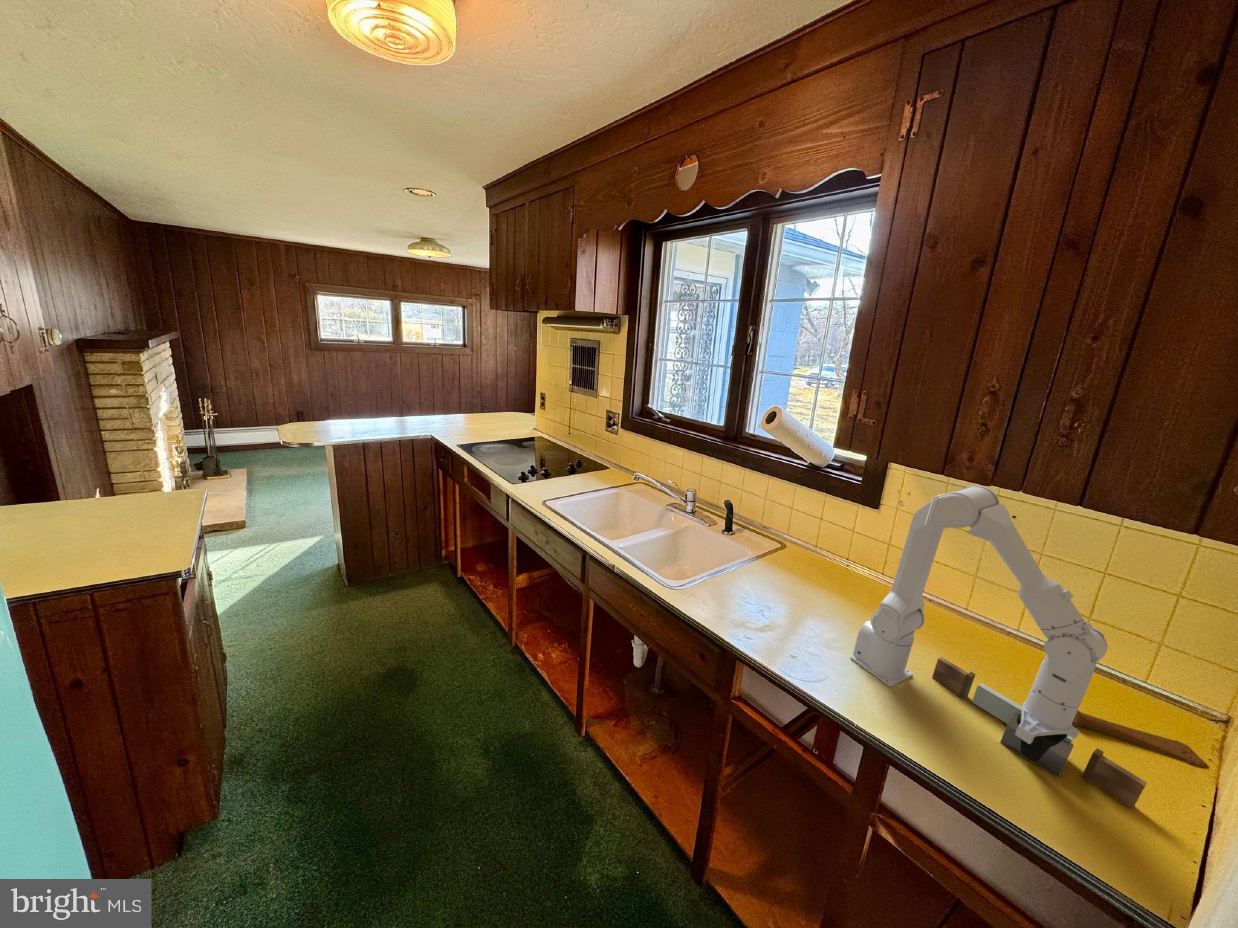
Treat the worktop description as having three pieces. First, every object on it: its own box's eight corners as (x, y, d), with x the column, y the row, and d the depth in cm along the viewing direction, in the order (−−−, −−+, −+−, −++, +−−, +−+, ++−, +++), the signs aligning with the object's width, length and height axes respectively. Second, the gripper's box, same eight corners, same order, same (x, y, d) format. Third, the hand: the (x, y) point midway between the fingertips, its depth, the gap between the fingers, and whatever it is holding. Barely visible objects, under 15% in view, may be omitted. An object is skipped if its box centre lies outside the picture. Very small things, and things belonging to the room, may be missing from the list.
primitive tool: (1186, 746, 85) (1194, 731, 84) (1211, 772, 80) (1220, 757, 79) (1059, 715, 91) (1065, 700, 90) (1075, 737, 86) (1082, 723, 85)
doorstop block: (1000, 742, 83) (1007, 724, 82) (1009, 729, 86) (1015, 712, 85) (1058, 777, 77) (1066, 759, 76) (1065, 762, 80) (1074, 744, 79)
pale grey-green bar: (971, 701, 91) (977, 684, 90) (976, 698, 92) (982, 681, 91) (1063, 758, 80) (1071, 739, 79) (1067, 753, 81) (1075, 735, 80)
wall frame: (931, 677, 98) (938, 656, 96) (935, 675, 98) (942, 654, 97) (1130, 809, 72) (1144, 784, 71) (1135, 805, 73) (1149, 779, 71)
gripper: (1068, 728, 68) (1037, 795, 72) (1107, 696, 75) (1077, 759, 79) (1011, 694, 74) (986, 758, 78) (1053, 667, 81) (1027, 728, 85)
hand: (1028, 756), depth 79 cm, fingers closed
